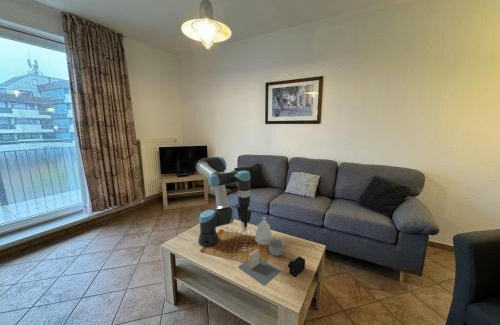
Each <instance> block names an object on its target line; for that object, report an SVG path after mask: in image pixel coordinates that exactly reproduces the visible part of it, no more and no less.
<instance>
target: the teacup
mask: <svg viewBox="0 0 500 325" xmlns="http://www.w3.org/2000/svg"><path fill="white" fill-rule="evenodd" d="M268 249H269V253H270V254H271V255H273V256H275V257H280V256H282V255H284V253H285V242H284V240H283V239H280V238H279V239H278V238H277V237H274V238H272V240H271V241H269V244H268Z"/></svg>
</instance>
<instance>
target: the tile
mask: <svg viewBox="0 0 500 325" xmlns="http://www.w3.org/2000/svg"><path fill="white" fill-rule="evenodd" d="M260 251H261V250H260V248H256V249H255V250H253V251H252V252H250V253H249V254H248V260H249V269H250V270H251V269H253V268H254V267H256V266H257V265H258V264H259V261H260V259H261V258H260Z"/></svg>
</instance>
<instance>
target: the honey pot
mask: <svg viewBox="0 0 500 325" xmlns="http://www.w3.org/2000/svg"><path fill="white" fill-rule="evenodd" d="M266 220H267V217H266V216H262V220H261V221H260V223H258V224H257V226H256V228H257V229H256V232H255V236H254V237H255V243H256V242H257V243H256V244H258V245H260V244H261V245H260V246H267V245H268V246H269V241H271V240H273V233H272V230H271V226H270V224H269V223H268V221H266Z"/></svg>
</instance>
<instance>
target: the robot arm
mask: <svg viewBox="0 0 500 325" xmlns="http://www.w3.org/2000/svg"><path fill="white" fill-rule="evenodd" d="M195 170H196V172H197V173H198V174H199V175H203V176H204V177H206V179H207V181H208V182H207V183H208V185H209V187H214V194H215V198H216V208H215V210H214V209H207V210H204V211H202V212H201V213H200V214H199V220H198V221H199V231H200V232H199V235H198V240H197V241H198V244H199V245H200V246H202V247H205V246H207V247H212V245H213V246H214V245H216V244H217V243H218V242H219V236H218V233H217V229H216V228H219V227H221V226H227V225H229V224H232V223H233V222H234V220H235V211H234V208H232V207H231V205H230V204H229V201H228V195H227V189H226V185H227V186H228V185H233V184H236V185H237V196H238V197H237V202H238V203H237V204H235V207H236V211H237V216H238V220H240V222H241V224H240V225H241V231H242V232H243V233H245V232H247V230H248V228H247V227H248V223H250V221H251V217H252V212H253V210H254V209H253V208H252V207H251V205H250V202H251V173H250V171H248V170H239V171H238V170H230V171H229V172H225V171H226V170H227V161H226V160H225V159H224V157H222V156H214V157H212V156H211V157H203V158H201V159H199V160H198V161H197V162H196V164H195Z"/></svg>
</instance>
